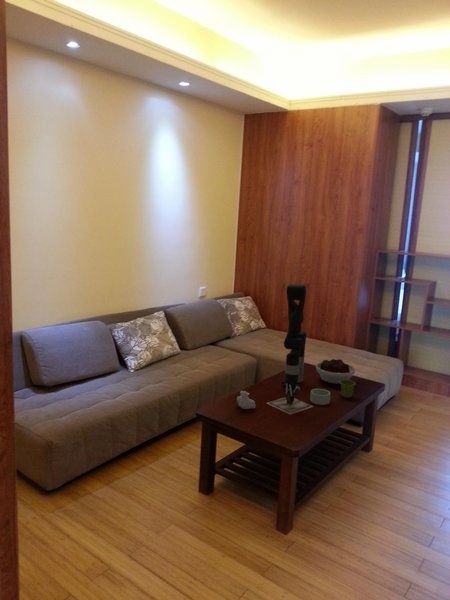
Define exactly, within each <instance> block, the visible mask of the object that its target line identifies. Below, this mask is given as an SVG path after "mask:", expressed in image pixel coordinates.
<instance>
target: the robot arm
mask: <svg viewBox="0 0 450 600" xmlns="http://www.w3.org/2000/svg"><path fill="white" fill-rule="evenodd" d="M306 297H307V288H306V285H305V284H298V283H296V284H295V283H292V284H288V285H287V287H286V299H287V315H288V316H287V317H288V328H287V334H286V336H285V338H284V341H283V346H284V348H285V350H289V353H287V354H286V357H285V358H286V359H285V367H284V369H285V371H284V380H282V381H281V382H280V384H281V387H282V390H283V393H285V397H286V400H287V393H290V392H291V396H290V402H293V401H294V398H295V397H297V396H298V395H299V393H300V392H301V390H302V388H301V387H300V386H298V383H302V382H303V380H304V369H305V367H304V366H305V354H306V353H305V352H306V351H305V350H306V349H305V348H306V343H307V342H306V341H307V333H306V331H303V330H302V324H303V322H304V319H305V318H304V309H305V304H306V303H305V302H306ZM297 301H299V302H298V303H297Z"/></svg>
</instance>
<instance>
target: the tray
mask: <svg viewBox="0 0 450 600" xmlns="http://www.w3.org/2000/svg"><path fill="white" fill-rule="evenodd" d="M270 402H271V401H269V402H266V404H268V405H269V406H271V407H273V408H275V409H277V410H279V411H281V412H283V413H286V414H288V415H293V414H296V413H300V412H302V411H305V410H308V409H311V408H314V406H313V405H311V404H309V405H310V406H309V407H306V408H303V409H300V410H297V411H294V412H291V413H289V412H287V411H285V410H283V409H281V408H279V407H276V406H274V405H272V404H270Z"/></svg>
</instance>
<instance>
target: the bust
mask: <svg viewBox="0 0 450 600" xmlns="http://www.w3.org/2000/svg"><path fill="white" fill-rule="evenodd" d="M239 395H240V396H237V398H236V402H237V404H238V407H240V408H241V409H242V410H249V409H252V410H253V409H255V408H256V403H255V401H254V400H253V399H250V398H249V395H250V393H249V392H247V391H246V390H240V392H239Z"/></svg>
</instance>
